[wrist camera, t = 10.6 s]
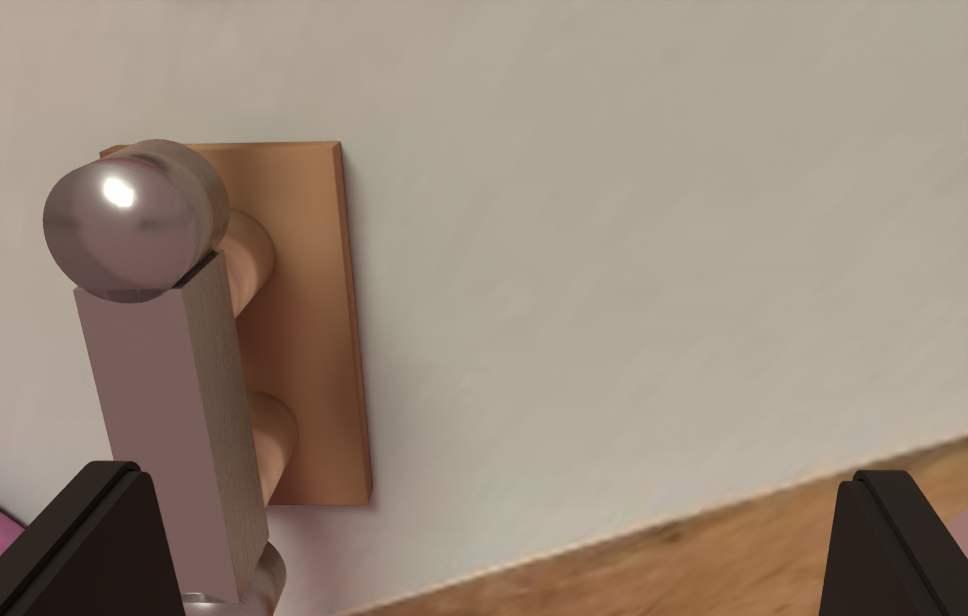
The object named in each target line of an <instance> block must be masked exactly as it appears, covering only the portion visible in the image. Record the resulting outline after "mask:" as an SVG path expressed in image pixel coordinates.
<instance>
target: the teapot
mask: <svg viewBox="0 0 968 616" xmlns="http://www.w3.org/2000/svg"><path fill="white" fill-rule="evenodd" d="M24 530H25V529H24V528H22V527H21V526H20V525H18V524H17V523H15V522H14V521H13V520H11V519H10V518H8V517H7V516H6V515H4V514H3V513H1V512H0V556H1V555H2V553H3V552H4V551H5V550H6V549H7V548H8V547H9V546H10V545H11V544H12V543H13V542H14V541H15V540H16V539H17V538H18V537H19V535H20V534H21V533H22V532H23V531H24Z"/></svg>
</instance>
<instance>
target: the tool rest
mask: <svg viewBox="0 0 968 616" xmlns="http://www.w3.org/2000/svg"><path fill="white" fill-rule="evenodd" d="M183 145H185V146H187V147H189V148H191V149H193V150H194V151H196V152H198V153H199V154H200V155H201V156H203V157H204V158H205V159H206V160H207V161H208V162H209V163H210V164H211V165H212V166H213V167H214V168H215V170H216V171H217V172H218V174H219V176H220V177H221V179H222V181H223V183H224V185H225V187H226V190H227V193H228V197H229V201H230V220H229V226H228V229H227V231H226V234H225V236H224V238H223V239H222V241H221V242H220V244H219V245H218V246H217V247H216V248H215V249H214V250H224V255H225V261H226V268H227V274H228V280H229V287H230V293H231V299H232V305H233V312H234V318H235V324H236V330H237V337H238V343H239V349H240V355H241V362H242V368H243V374H244V380H245V387H246V393H247V399H248V405H249V412H250V418H251V424H252V430H253V437H254V443H255V449H256V455H257V462H258V468H259V474H260V480H261V487H262V493H263V499H264V505H265V508H266V506H267V505H368V503H369V499H370V496H371V492H372V489H373V484H372V473H371V463H370V452H369V442H368V431H367V421H366V411H365V400H364V390H363V379H362V369H361V358H360V348H359V337H358V327H357V316H356V306H355V296H354V285H353V275H352V264H351V254H350V243H349V233H348V222H347V212H346V201H345V191H344V181H343V170H342V160H341V149H340V141H325V142H272V143H219V144H183ZM128 146H130V145H116V146H113V147H111V148H109V149H106V150H104V151H101V152H99V154H100V159H101V158H103V157H105V156H107V155H110V154H112V153H114V152H117V151H119V150H121V149H123V148H126V147H128Z"/></svg>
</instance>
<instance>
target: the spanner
mask: <svg viewBox="0 0 968 616" xmlns="http://www.w3.org/2000/svg"><path fill="white" fill-rule="evenodd" d="M229 220H230V201H229V197H228V193H227V190H226V187H225V185H224V183H223V181H222V179H221V177H220V176H219V174H218V172H217V171H216V170H215V168H214V167H213V166H212V165H211V164H210V163H209V162H208V161H207V160H206V159H205V158H204V157H203V156H201V155H200V154H199V153H198V152H196V151H194V150H193V149H191V148H189V147H187V146H185V145H183V144H180V143H177V142H174V141H169V140H161V139H152V140H145V141H141V142H138V143H135V144H133V145H130V146H128V147H126V148H123V149H121V150H119V151H117V152H114V153H112V154H110V155H107V156H105V157H103V158H101V159H98V160H96V161H94V162H91V163H89V164H87V165H85V166H82V167H80V168H78V169H76V170H73V171H72V172H70V173H68V174H67V175H65V176H64V177H63V178H62V179H60V180H59V181H58V182H57V184H56V185H55V186H54V187H53V189H52V190H51V192H50V193H49V196H48V198H47V200H46V203H45V207H44V213H43V229H44V235H45V239H46V242H47V245H48V248H49V250H50V252H51V254H52V256H53V258H54V260H55V261H56V263H57V264H58V266H59V267H60V268H61V270H62V271H63V272H64V273H65V274H66V275H67V276H68V277H69V279H71V280H72V281H73V282H74V283H75V284H76V285H78V287H77V288H75V289H74V290H73V292H74V296H75V300H76V305H77V309H78V313H79V317H80V321H81V325H82V330H83V334H84V338H85V342H86V346H87V350H88V355H89V359H90V363H91V367H92V371H93V375H94V380H95V384H96V388H97V392H98V396H99V400H100V405H101V409H102V413H103V417H104V421H105V425H106V430H107V434H108V438H109V442H110V446H111V450H112V454H113V459H114V461H133V462H136V463H137V464H138V465H139V467H140V468H141V471H142V472H147V473H149V474H150V476H151V478H152V480H153V484H154V488H155V492H156V496H157V500H158V504H159V508H160V512H161V516H162V520H163V524H164V528H165V532H166V536H167V541H168V545H169V549H170V553H171V557H172V561H173V565H174V569H175V573H176V577H177V581H178V585H179V589H180V593H181V597H182V602H183V606H184V610H185V614H186V616H273V614H274V611H275V609H276V606H277V604H278V601H279V599H280V596H281V593H282V591H283V588H284V586H285V582H286V568H285V564H284V561H283V559H282V557H281V555H280V554H279V552H278V551H277V550H276V548H275V547H274V546H273V545H272V544H271V543H269V542H268V539H269V530H268V524H267V518H266V512H265V505H264V499H263V493H262V487H261V480H260V474H259V468H258V462H257V455H256V449H255V443H254V437H253V430H252V424H251V418H250V412H249V405H248V399H247V393H246V387H245V380H244V374H243V368H242V362H241V355H240V349H239V343H238V337H237V330H236V324H235V318H234V312H233V305H232V299H231V293H230V287H229V280H228V274H227V268H226V261H225V255H224V250H214V249H215V248H216V247H217V246H218V245H219V244H220V242H221V241H222V239H223V238H224V236H225V234H226V231H227V229H228V226H229Z"/></svg>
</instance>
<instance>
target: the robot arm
mask: <svg viewBox="0 0 968 616" xmlns="http://www.w3.org/2000/svg"><path fill="white" fill-rule="evenodd" d="M0 616H186V614H185V610H184V606H183V602H182V597H181V593H180V589H179V585H178V581H177V577H176V573H175V569H174V565H173V561H172V557H171V553H170V549H169V545H168V541H167V536H166V532H165V528H164V524H163V520H162V516H161V512H160V508H159V504H158V500H157V496H156V492H155V488H154V484H153V480H152V478H151V476H150V474H149V473H147V472H142V471H141V468H140V467H139V465H138V464H137V463H136V462H133V461H92V462H90V463H88V464H87V465H86V466H85V467H84V468H83V469H82V470H81V471H80V472H79V473H78V474H77V475H76V476H75V477H74V478H73V479H72V480H71V481H70V483H69V484H68V485H67V486H66V487H65V488H64V489H63V490H62V491H61V492H60V493H59V494H58V495H57V496H56V497H55V498H54V499H53V501H52V502H51V503H50V504H49V505H48V506H47V507H46V508H45V509H44V510H43V511H42V512H41V513H40V514H39V515H38V516H37V517H36V519H35V520H34V521H33V522H32V523H31V524H30V525H29V526H28V527H27V528H26V529H25V530H24V531H23V532H22V533H21V534H20V535H19V537H18V538H17V539H16V540H15V541H14V542H13V543H12V544H11V545H10V546H9V547H8V548H7V549H6V550H5V551H4V552H3V553H2V555H1V556H0ZM819 616H968V559H967V558H966V556H965V555H964V553H963V552H962V550H961V549H960V547H959V546H958V544H957V543H956V541H955V540H954V538H953V537H952V536H951V534H950V533H949V531H948V530H947V528H946V527H945V525H944V524H943V522H942V521H941V519H940V518H939V516H938V515H937V514H936V512H935V511H934V509H933V508H932V506H931V505H930V503H929V502H928V500H927V499H926V497H925V496H924V494H923V493H922V492H921V490H920V489H919V487H918V486H917V484H916V483H915V481H914V480H913V478H912V477H911V476H910V475H909V474H908V473H907V472H906V471H902V470H859V471H857V472H856V473H855V475H854V476H853V480H852V481H843V482H841V483H840V485H839V488H838V493H837V500H836V506H835V513H834V519H833V526H832V532H831V539H830V545H829V552H828V558H827V565H826V572H825V578H824V585H823V591H822V598H821V604H820V611H819Z"/></svg>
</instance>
